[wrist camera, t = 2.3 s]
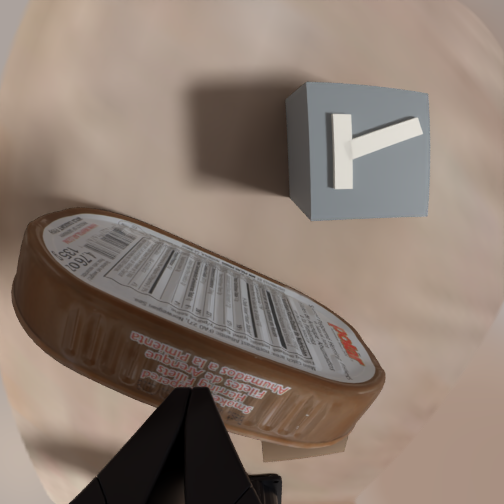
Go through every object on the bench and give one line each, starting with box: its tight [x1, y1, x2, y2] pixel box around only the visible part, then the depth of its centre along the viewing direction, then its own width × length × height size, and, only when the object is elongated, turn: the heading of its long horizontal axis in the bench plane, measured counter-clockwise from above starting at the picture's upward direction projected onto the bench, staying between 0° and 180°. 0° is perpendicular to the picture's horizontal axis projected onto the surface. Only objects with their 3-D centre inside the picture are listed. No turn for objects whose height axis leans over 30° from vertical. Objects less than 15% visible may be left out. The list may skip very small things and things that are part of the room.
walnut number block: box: [262, 436, 348, 462], centre depth 16 cm, size 4×4×5 cm
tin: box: [11, 207, 385, 449], centre depth 12 cm, size 15×3×8 cm, turn 64°
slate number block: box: [285, 82, 430, 221], centre depth 12 cm, size 4×4×5 cm
